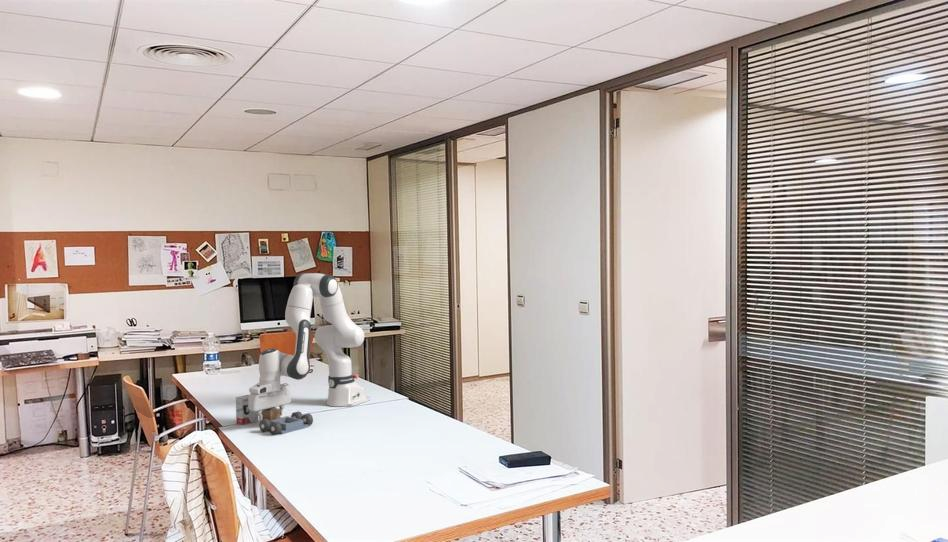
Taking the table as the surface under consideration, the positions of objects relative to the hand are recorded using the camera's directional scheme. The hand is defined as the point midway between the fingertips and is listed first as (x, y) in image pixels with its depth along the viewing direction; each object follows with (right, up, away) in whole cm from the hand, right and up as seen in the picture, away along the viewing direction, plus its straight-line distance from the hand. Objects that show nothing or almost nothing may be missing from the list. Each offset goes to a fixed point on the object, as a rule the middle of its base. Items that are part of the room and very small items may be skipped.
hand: (270, 417), depth 297 cm
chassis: (+9, -3, -6) cm, 11 cm away
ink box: (-12, -4, +6) cm, 14 cm away
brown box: (0, -3, 0) cm, 3 cm away
